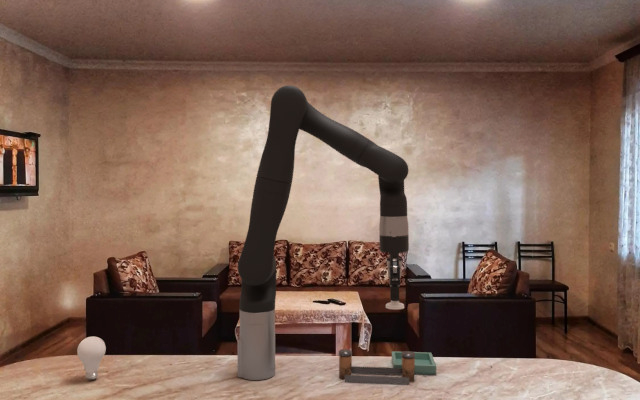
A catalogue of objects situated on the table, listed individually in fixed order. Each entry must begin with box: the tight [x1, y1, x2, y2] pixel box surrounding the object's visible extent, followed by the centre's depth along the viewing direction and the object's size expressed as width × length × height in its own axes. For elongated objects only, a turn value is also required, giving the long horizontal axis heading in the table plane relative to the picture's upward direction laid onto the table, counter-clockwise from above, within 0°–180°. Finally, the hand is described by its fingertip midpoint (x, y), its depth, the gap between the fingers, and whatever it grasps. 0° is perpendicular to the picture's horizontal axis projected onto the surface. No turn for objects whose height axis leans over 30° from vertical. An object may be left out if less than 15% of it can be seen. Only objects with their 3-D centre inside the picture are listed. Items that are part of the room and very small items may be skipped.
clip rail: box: [338, 348, 416, 386], centre depth 133 cm, size 19×7×7 cm, turn 85°
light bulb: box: [76, 336, 107, 381], centre depth 132 cm, size 7×7×11 cm
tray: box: [391, 351, 437, 376], centre depth 142 cm, size 11×11×2 cm
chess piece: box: [385, 279, 405, 311], centre depth 136 cm, size 5×5×10 cm
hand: (394, 299), depth 136 cm, fingers closed on chess piece
